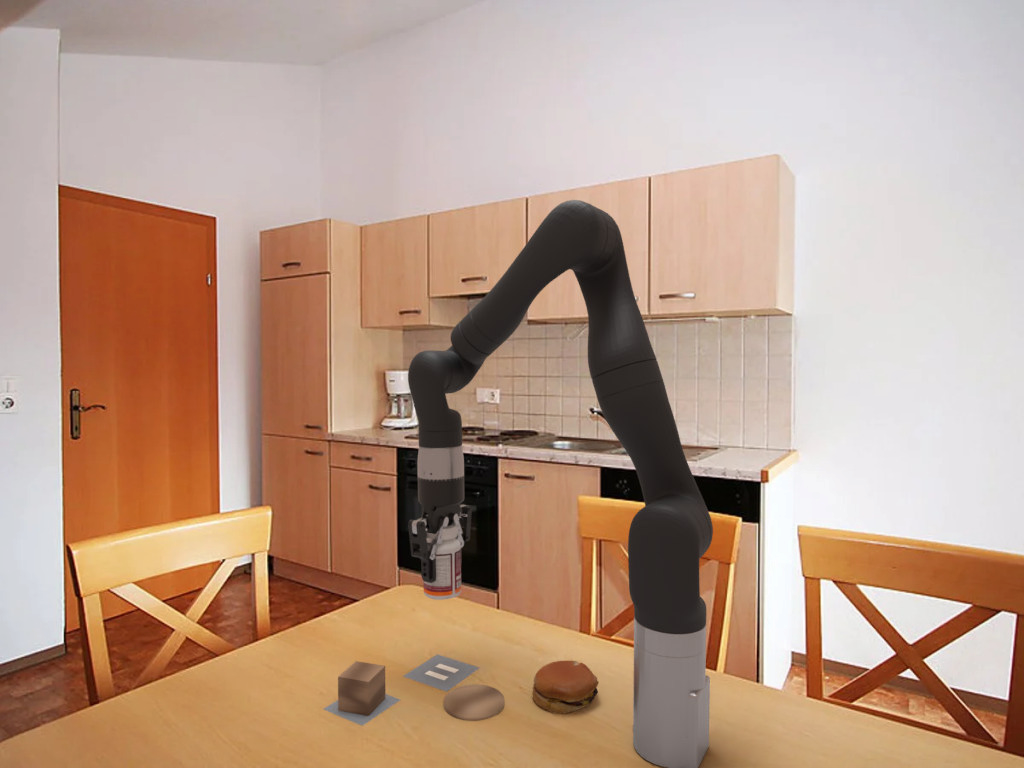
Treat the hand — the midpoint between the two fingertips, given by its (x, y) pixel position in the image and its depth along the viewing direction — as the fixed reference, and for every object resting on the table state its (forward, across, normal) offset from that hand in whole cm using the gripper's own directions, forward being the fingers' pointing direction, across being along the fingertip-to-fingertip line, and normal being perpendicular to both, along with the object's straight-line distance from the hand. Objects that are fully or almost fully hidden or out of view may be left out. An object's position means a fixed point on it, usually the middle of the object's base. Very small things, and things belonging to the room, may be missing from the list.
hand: (442, 575), depth 103 cm
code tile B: (+16, -14, +4) cm, 22 cm away
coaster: (+16, -5, -10) cm, 20 cm away
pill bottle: (+3, 0, 0) cm, 3 cm away
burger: (+17, +4, -20) cm, 27 cm away
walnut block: (+16, -14, +4) cm, 22 cm away
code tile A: (+16, 0, 0) cm, 16 cm away
